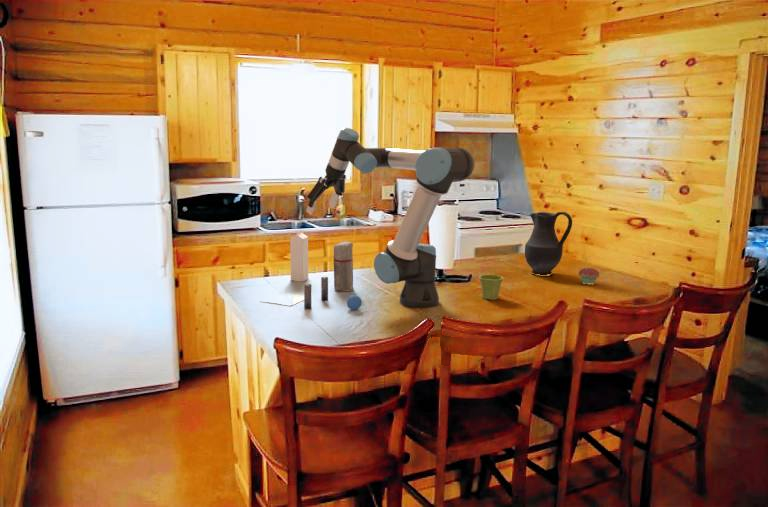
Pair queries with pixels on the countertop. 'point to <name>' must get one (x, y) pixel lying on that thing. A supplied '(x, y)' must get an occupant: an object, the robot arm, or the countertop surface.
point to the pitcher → (545, 243)
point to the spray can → (343, 266)
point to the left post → (307, 296)
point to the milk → (299, 256)
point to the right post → (324, 288)
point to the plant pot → (490, 286)
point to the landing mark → (297, 299)
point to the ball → (354, 302)
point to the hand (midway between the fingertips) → (320, 209)
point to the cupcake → (588, 274)
